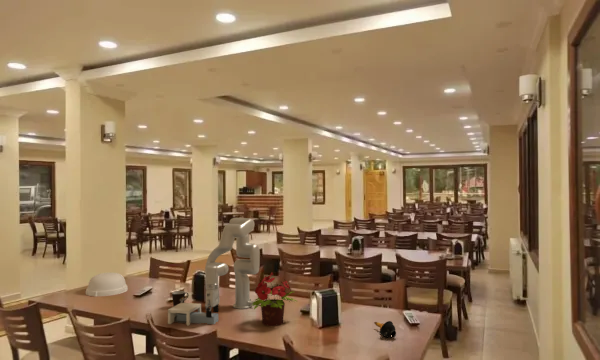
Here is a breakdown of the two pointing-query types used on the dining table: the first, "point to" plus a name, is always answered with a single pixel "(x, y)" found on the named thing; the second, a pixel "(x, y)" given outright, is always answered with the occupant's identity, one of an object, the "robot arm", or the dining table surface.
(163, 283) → the dining table surface
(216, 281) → the robot arm
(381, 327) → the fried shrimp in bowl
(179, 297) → the coffee mug
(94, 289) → the dome cover
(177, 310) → the low shelf
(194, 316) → the grey rectangular block
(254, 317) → the dining table surface
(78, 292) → the dining table surface
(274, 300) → the potted plant
